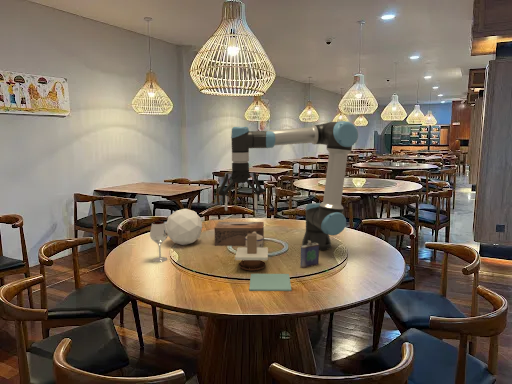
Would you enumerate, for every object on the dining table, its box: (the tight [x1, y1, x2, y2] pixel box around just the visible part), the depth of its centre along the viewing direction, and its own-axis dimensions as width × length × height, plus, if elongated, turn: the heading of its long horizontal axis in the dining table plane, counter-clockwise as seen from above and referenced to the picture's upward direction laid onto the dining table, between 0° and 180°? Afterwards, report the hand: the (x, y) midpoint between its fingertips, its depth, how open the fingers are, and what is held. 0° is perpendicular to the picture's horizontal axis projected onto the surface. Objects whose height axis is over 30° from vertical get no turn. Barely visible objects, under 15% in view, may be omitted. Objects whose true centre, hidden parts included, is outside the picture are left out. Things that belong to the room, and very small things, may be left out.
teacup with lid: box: [245, 232, 265, 248], centre depth 185 cm, size 12×9×12 cm
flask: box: [299, 240, 320, 269], centre depth 169 cm, size 10×3×12 cm, turn 121°
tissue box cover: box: [214, 221, 265, 247], centre depth 207 cm, size 26×14×10 cm, turn 87°
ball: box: [165, 208, 203, 246], centre depth 204 cm, size 19×20×20 cm
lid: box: [234, 234, 269, 261], centre depth 166 cm, size 14×14×9 cm
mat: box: [248, 273, 292, 292], centre depth 151 cm, size 16×16×1 cm
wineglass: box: [149, 221, 169, 263], centre depth 177 cm, size 8×8×18 cm
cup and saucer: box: [238, 260, 266, 272], centre depth 167 cm, size 12×12×6 cm
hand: (241, 209), depth 169 cm, fingers open, 13 cm apart
